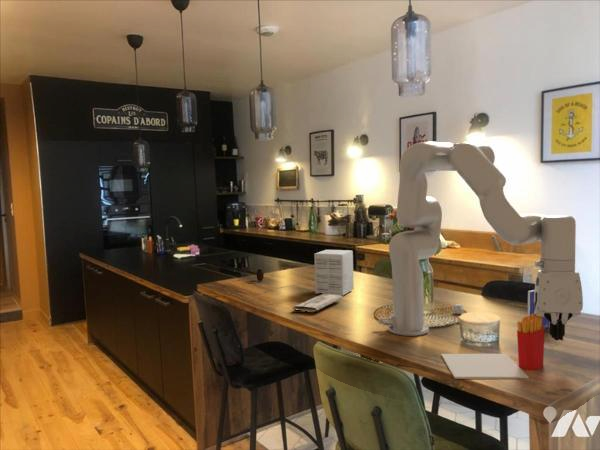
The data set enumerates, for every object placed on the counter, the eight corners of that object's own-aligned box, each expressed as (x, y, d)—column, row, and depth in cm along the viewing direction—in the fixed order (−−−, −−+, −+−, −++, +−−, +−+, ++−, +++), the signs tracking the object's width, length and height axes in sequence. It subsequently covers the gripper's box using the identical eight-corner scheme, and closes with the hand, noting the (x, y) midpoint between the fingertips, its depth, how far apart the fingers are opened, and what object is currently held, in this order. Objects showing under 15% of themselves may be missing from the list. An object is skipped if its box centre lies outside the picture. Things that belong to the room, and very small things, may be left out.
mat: (454, 378, 120) (454, 376, 120) (441, 355, 135) (441, 353, 135) (528, 378, 118) (528, 376, 118) (506, 355, 134) (506, 353, 134)
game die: (465, 314, 176) (465, 305, 176) (454, 314, 176) (454, 306, 176) (460, 311, 180) (460, 303, 180) (450, 312, 180) (450, 304, 179)
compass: (244, 284, 242) (243, 269, 241) (259, 282, 246) (258, 267, 245) (251, 286, 235) (250, 271, 234) (266, 284, 239) (266, 269, 238)
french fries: (531, 359, 130) (531, 310, 129) (548, 364, 127) (548, 313, 126) (512, 368, 125) (512, 317, 124) (529, 373, 121) (528, 321, 120)
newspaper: (315, 298, 208) (315, 292, 208) (342, 301, 202) (342, 295, 202) (287, 311, 189) (287, 305, 188) (316, 315, 182) (315, 308, 182)
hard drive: (549, 327, 158) (550, 288, 156) (531, 331, 154) (531, 291, 153) (545, 326, 159) (546, 287, 158) (526, 330, 156) (527, 290, 155)
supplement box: (326, 287, 228) (325, 249, 227) (354, 289, 222) (353, 250, 221) (314, 293, 216) (313, 253, 215) (343, 295, 210) (342, 254, 209)
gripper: (532, 268, 120) (531, 343, 122) (597, 267, 119) (596, 343, 120) (520, 263, 128) (520, 334, 129) (582, 262, 126) (581, 333, 128)
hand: (557, 338), depth 125 cm, fingers closed
